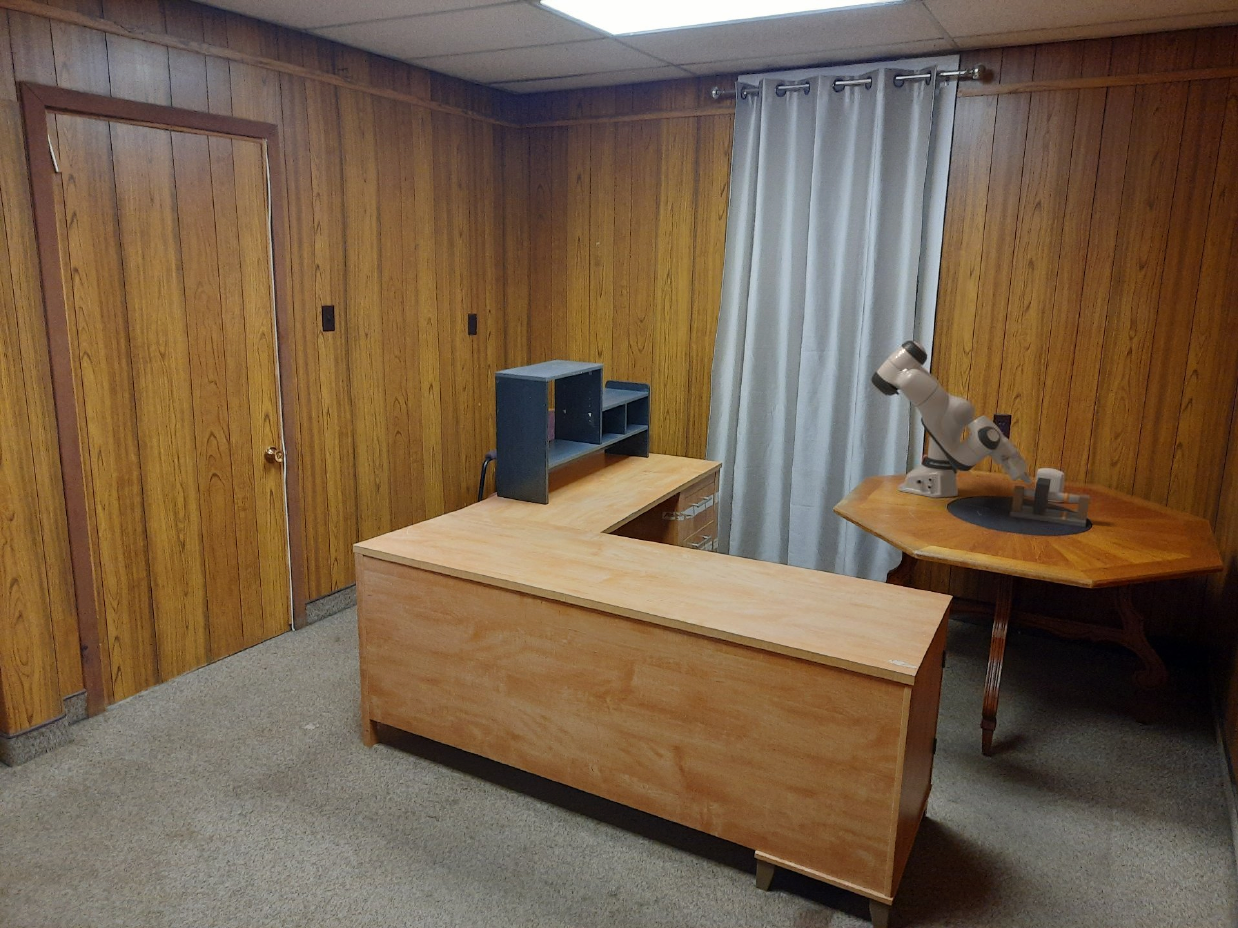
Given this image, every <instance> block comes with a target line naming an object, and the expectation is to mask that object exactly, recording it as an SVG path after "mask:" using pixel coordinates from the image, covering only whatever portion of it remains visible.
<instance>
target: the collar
mask: <svg viewBox="0 0 1238 928" xmlns="http://www.w3.org/2000/svg"><path fill="white" fill-rule="evenodd" d="M1050 482H1051V479H1047V478H1038V480H1037V483H1036V482H1035V483H1036V489H1035V488H1034V489H1035V496H1034V498H1033V506H1032V507H1033V511H1040V512H1045V511H1046V509H1048V503H1049V501H1048V500H1047V497H1048V491H1049V489H1050Z"/></svg>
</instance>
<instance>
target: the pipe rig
mask: <svg viewBox="0 0 1238 928" xmlns="http://www.w3.org/2000/svg"><path fill="white" fill-rule="evenodd" d="M1034 496H1035V488H1033V489H1032V488H1026V487H1025V486H1024V485H1023V486H1022V485H1015V486H1014V489H1013V496H1012V502H1011V503H1012V505H1011V510H1010V513H1009V517H1012V516H1013V517H1012V518H1019V519H1027V520H1033V521H1040V522H1047V521H1048V523H1055V524H1062V525H1069V526H1074V525H1075V526H1076V527H1083V528H1086V524H1087V517H1088V511H1089V504H1090V496H1091V495H1090V494H1085V493H1080V494H1079V495H1078V494H1072V493H1068V492H1065V493H1064V492H1063V493H1058V492H1050V491H1048V497H1047V500H1054V501H1062V502H1063V503H1066V504H1067V503H1068V504H1069V503H1072V504H1078V506H1077V512H1071V511H1067V510H1057V509H1052V508H1051V509H1049V508H1046V511H1045V512H1040V511H1033V506H1029V505H1023V503H1024V497H1025V498H1033V499H1034ZM1062 502H1061V503H1062Z"/></svg>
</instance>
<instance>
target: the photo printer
mask: <svg viewBox="0 0 1238 928" xmlns="http://www.w3.org/2000/svg"><path fill="white" fill-rule="evenodd" d="M1038 478H1047V479H1051V482H1050V489H1049V491H1050V492H1058V493H1064V490H1065V489H1064V487H1065V480H1066V475H1065V473H1064V472H1063V471H1061V470H1058V469H1055V468H1051V467H1043V468H1038V469H1037V472H1036V477H1035V483H1034V484H1035V485H1034V489H1036V483H1037V480H1038ZM1048 502H1053V503H1058V504H1059V503H1062V501H1054V500H1048Z"/></svg>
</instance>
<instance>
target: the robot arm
mask: <svg viewBox="0 0 1238 928" xmlns="http://www.w3.org/2000/svg"><path fill="white" fill-rule="evenodd" d="M927 360H928V354H927V351H926V349H925V347H924V346H923V345H922V344H920V343H918V342H917V341H913V340H906V341H905V342H903V343H902V344H901V345H900V346H899V347H898V348H897V349H896V350H895V351H893V352H892V353H891V354H890V355H889V356H888V357H887V358H886V360H885V361H884V362H883V363H882V364H881V366H879V367H878V369H877V371H875V372H874V373H873V374H872V376H871V379H870V380H871V383H872V385H873V388H874V389H875V390H876V391H877V392H879V393H880V394H882V395H885V396H889V397H890V396H895V395H897V396H899V395H900V393H899V392H898V391H899V390H900V391H901V392H902V394H903V395H904V396H905V397H906V399H907V400H908V401H909V402H911V404H912V405H913V406H914V407H915V408H916V409H918V411H919V413H920V416H921V417H920V423H921V425H922V427H923V428H924V430H925V431H926V433H927V434H928V435H929V440H928V449H927V450H928V451H927V454H924V455H923V456H922V457H921V464H920V465H919V466H917V467H915V468H913V469H912V470H910V471H908V472H907V475H906V476H905V479H904V482H901V483H899V485H898V487H897V489H898V491H900V492H903V493H909V494H914V495H920V496H925V497H929V498H937V499H938V498H949V497H957V496H958V495H959V491H958V490H959V489H958V484H957V474H958V471H961V472H969V471H970V470H972V469H973V468H974V467H975V466H977V464H979V463H981V461H983V460H984V459H986V458H987V457H988V456H989V458H990V459H991V460H992V461H993V462H994V463H995V464H996V466H998V465H999V464H1000V466H1001V468H1002V469H1003V470H1004V472H1005V473H1006V475H1008V477H1009V478H1010V479H1011V480H1012V481H1013V482H1016V481H1018V480H1021V481H1022V482H1024V484H1025V485H1026V486H1029V485H1031V484H1032V482H1033V480H1032V479H1031V478H1030V476H1029V475H1028V472H1027V471H1026V469H1027V468H1028V463H1027V461H1026V460H1025V459H1024V457H1023V456H1022V455H1021V453H1020V452H1019V451H1018V447H1017V446H1016V445H1015V444H1013V442H1012V441H1011V440H1010V439H1009V438H1008V437H1006V436H1005V435H1004V433H1003V432H1002V430H1001V429H1000V428H999V427H998V425H996V424H995V423H994V422H993V421H992V419H990V418H989V417H987V416H986V415H984V414H983V415H979V416H977V417H976V409H975V406H974V404H972V403H971V402H970V401H969V400H967V399H965V398H964V397H961V396H956V395H954V394H951V393H948V392H947V391H946V390H945V388H943V386H941V385H940V382H939V379H937V378H936V377H935V376H934V375H933V374H931V373H930V372H929V371H928V370H927V369H926V368H925V367H923V366H924V364H925V363H926V362H927ZM975 417H976V418H975ZM966 428H967V430H968V432H969V435H967V437H966V438H964V439H963V440H961V438H962V436H963V433H964V431H965V429H966Z"/></svg>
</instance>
